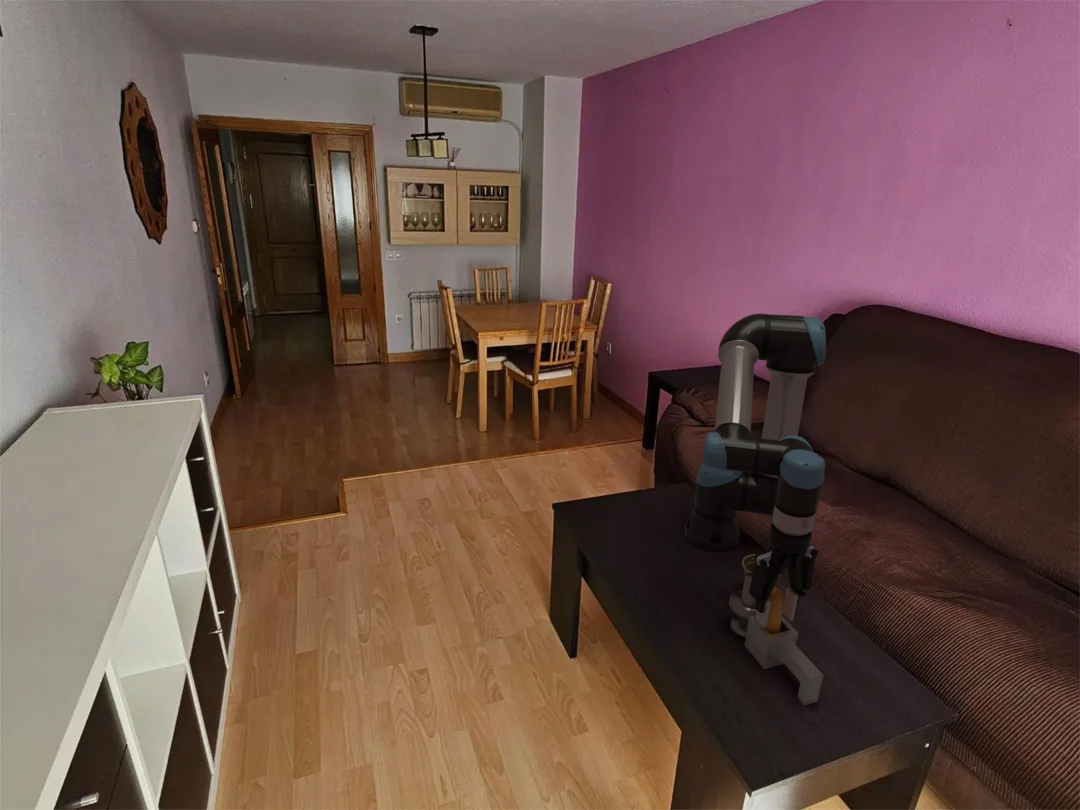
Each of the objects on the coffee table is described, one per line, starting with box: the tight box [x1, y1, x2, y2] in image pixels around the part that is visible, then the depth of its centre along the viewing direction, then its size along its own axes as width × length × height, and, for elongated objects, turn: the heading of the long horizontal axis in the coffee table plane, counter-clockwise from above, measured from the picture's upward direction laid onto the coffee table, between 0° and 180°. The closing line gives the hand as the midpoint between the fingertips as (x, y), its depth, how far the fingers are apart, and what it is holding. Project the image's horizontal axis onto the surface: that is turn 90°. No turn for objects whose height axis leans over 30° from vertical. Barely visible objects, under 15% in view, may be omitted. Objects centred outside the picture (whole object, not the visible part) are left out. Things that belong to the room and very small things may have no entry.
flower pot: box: [741, 553, 782, 587], centre depth 144 cm, size 9×9×9 cm
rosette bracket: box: [728, 572, 824, 706], centre depth 124 cm, size 26×9×14 cm, turn 16°
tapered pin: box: [764, 586, 785, 635], centre depth 124 cm, size 4×4×14 cm
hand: (774, 619), depth 124 cm, fingers open, 6 cm apart
